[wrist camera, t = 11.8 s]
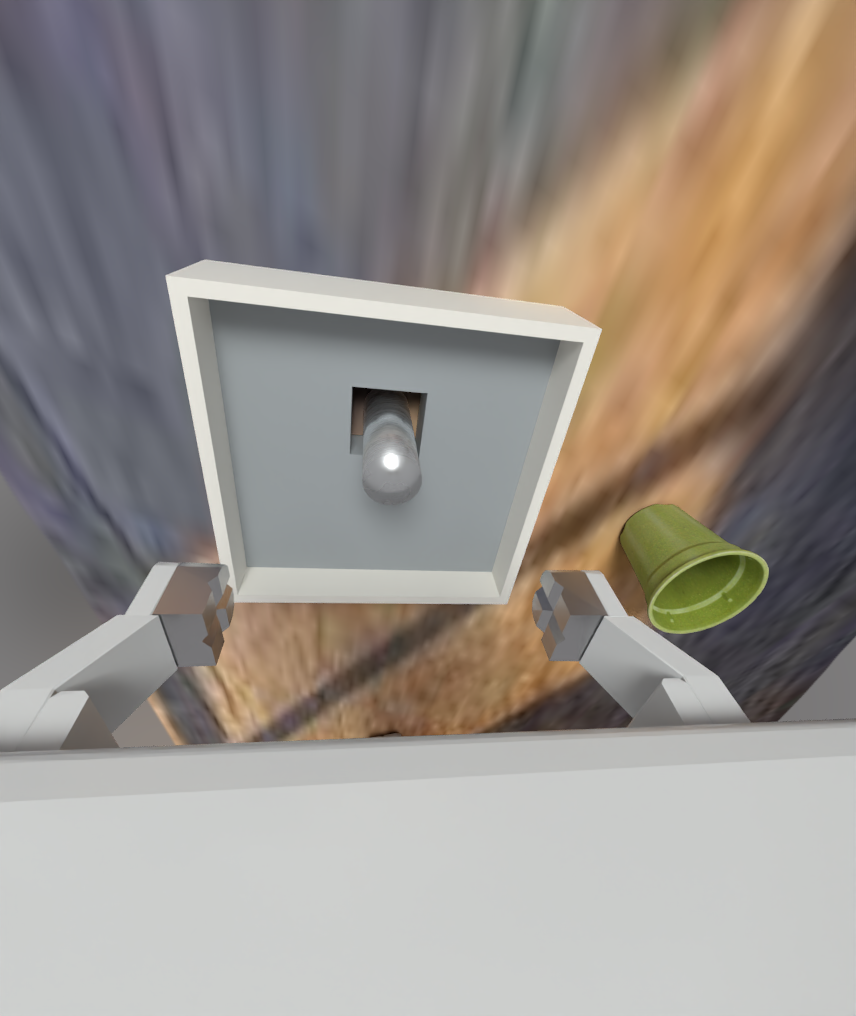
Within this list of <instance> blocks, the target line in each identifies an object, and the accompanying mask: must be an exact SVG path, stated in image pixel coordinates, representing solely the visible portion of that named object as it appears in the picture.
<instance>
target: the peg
mask: <svg viewBox="0 0 856 1016" xmlns="http://www.w3.org/2000/svg"><path fill="white" fill-rule="evenodd" d="M362 484H363V488H364V490H365V492H366V493H367V495H368V496H369V497H370V498H371V499H373V500H374V501H376V502H378V503H381V504H384V505H399V504H403V503H405V502H407V501H409V500H411V499H412V498H413V497H414V496H415V495H416V494H417V493H418V491H419V490H420V487H421V484H422V474H421V469H420V464H419V458H418V453H417V448H416V442H415V437H414V432H413V426H412V421H411V416H410V410H409V405H408V400H407V398H406V396H405V395H404V393H403V392H402V391H396V390H384V389H373V390H372V391H370V392H369V394H368V395H367V397H366V399H365V402H364V426H363V469H362Z"/></svg>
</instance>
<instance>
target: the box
mask: <svg viewBox="0 0 856 1016" xmlns="http://www.w3.org/2000/svg"><path fill="white" fill-rule="evenodd" d="M166 281H167V286H168V291H169V296H170V302H171V307H172V312H173V317H174V323H175V328H176V333H177V339H178V344H179V349H180V354H181V360H182V365H183V370H184V375H185V381H186V386H187V391H188V396H189V402H190V407H191V412H192V417H193V423H194V428H195V433H196V438H197V444H198V449H199V454H200V460H201V465H202V470H203V475H204V481H205V486H206V491H207V496H208V502H209V507H210V512H211V517H212V523H213V528H214V533H215V538H216V544H217V549H218V554H219V560H220V564H225V565H227V566H228V569H229V573H230V577H229V580H228V583H227V584H228V585H229V586H230V587H231V588H233V593H234V602H263V603H400V604H507V603H508V600H509V597H510V594H511V591H512V588H513V585H514V583H515V580H516V577H517V574H518V571H519V568H520V565H521V562H522V559H523V557H524V554H525V551H526V548H527V545H528V542H529V539H530V536H531V533H532V531H533V528H534V525H535V522H536V519H537V516H538V513H539V510H540V507H541V504H542V502H543V499H544V496H545V493H546V490H547V487H548V484H549V481H550V478H551V476H552V473H553V470H554V467H555V464H556V461H557V458H558V455H559V452H560V450H561V447H562V444H563V441H564V438H565V435H566V432H567V429H568V426H569V424H570V421H571V418H572V415H573V412H574V409H575V406H576V403H577V400H578V398H579V395H580V392H581V389H582V386H583V383H584V380H585V377H586V374H587V372H588V369H589V366H590V363H591V360H592V357H593V354H594V351H595V348H596V345H597V343H598V340H599V337H600V334H601V331H602V329H601V328H599V327H598V326H596V325H594V324H592V323H591V322H589V321H587V320H586V319H584V318H582V317H580V316H579V315H577V314H575V313H573V312H572V311H570V310H568V309H567V308H565V307H563V306H557V305H549V304H542V303H534V302H526V301H519V300H511V299H503V298H496V297H488V296H480V295H473V294H465V293H457V292H450V291H442V290H434V289H427V288H419V287H411V286H404V285H396V284H388V283H381V282H373V281H365V280H358V279H350V278H342V277H335V276H327V275H319V274H312V273H304V272H296V271H289V270H281V269H273V268H266V267H258V266H250V265H243V264H235V263H227V262H220V261H212V260H203V261H200V262H198V263H195V264H193V265H190V266H188V267H185V268H183V269H180V270H178V271H175V272H173V273H170V274H168V275H166ZM353 387H362V388H373V389H384V390H396V391H407V392H418V393H421V397H420V405H419V413H418V421H417V428H416V436H415V442H416V448H417V453H418V458H419V464H420V469H421V474H422V484H421V487H420V490H419V491H418V493H417V494H416V495H415V496H414V497H413V498H412V499H411V500H409V501H407V502H405V503H403V504H399V505H384V504H381V503H378V502H376V501H374V500H373V499H371V498H370V497H369V496H368V495H367V493H366V492H365V490H364V488H363V484H362V469H363V436H361V435H351V426H352V397H353Z"/></svg>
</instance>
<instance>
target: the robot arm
mask: <svg viewBox="0 0 856 1016" xmlns="http://www.w3.org/2000/svg"><path fill="white" fill-rule="evenodd" d="M229 577H230V573H229V569H228V566H227V565H225V564H206V563H172V562H158V563H157V564H156V565H154V566H153V568H152V569H151V571H150V573H149V574H148V576H147V578H146V580H145V581H144V583H143V585H142V586H141V588H140V590H139V591H138V593H137V595H136V596H135V598H134V600H133V601H132V603H131V605H130V607H129V608H128V610H127V612H126V613H125V615H117V616H115V617H114V618H112V619H111V620H109V621H107V622H106V623H104V624H103V625H101V626H100V627H98V628H97V629H95V630H94V631H92V632H90V633H89V634H87V635H86V636H84V637H83V638H81V639H79V640H78V641H76V642H75V643H73V644H72V645H70V646H68V647H67V648H65V649H64V650H62V651H61V652H59V653H58V654H56V655H54V656H53V657H51V658H50V659H48V660H47V661H45V662H44V663H42V664H40V665H39V666H37V667H36V668H34V669H33V670H31V671H30V672H28V673H26V674H25V675H23V676H22V677H20V678H19V679H17V680H15V681H14V682H12V683H11V684H9V685H8V686H6V687H5V688H3V689H2V690H0V1016H856V719H833V720H812V721H811V720H808V721H783V722H758V723H751V722H750V721H749V719H748V718H747V717H746V715H745V714H744V712H743V711H742V709H741V708H740V707H739V705H738V704H737V702H736V701H735V699H734V698H733V697H732V695H731V694H730V692H729V691H728V690H727V688H726V687H725V685H724V684H723V682H722V681H721V680H720V678H719V677H718V676H717V675H716V674H714V673H713V672H711V671H710V670H709V669H707V668H706V667H704V666H703V665H702V664H700V663H699V662H697V661H696V660H694V659H693V658H692V657H690V656H689V655H687V654H686V653H685V652H683V651H682V650H680V649H679V648H677V647H676V646H675V645H673V644H672V643H670V642H669V641H668V640H666V639H665V638H663V637H662V636H660V635H659V634H658V633H656V632H655V631H653V630H652V629H651V628H649V627H648V626H646V625H645V624H643V623H642V622H641V621H639V620H638V619H636V618H635V617H634V616H628V615H627V613H626V612H625V610H624V608H623V607H622V605H621V603H620V602H619V600H618V598H617V597H616V595H615V593H614V592H613V590H612V588H611V587H610V585H609V583H608V582H607V580H606V578H605V577H604V575H603V574H602V573H601V572H600V571H591V570H581V571H577V570H546V571H545V572H544V573H543V574H542V576H541V579H540V582H541V584H542V587H541V588H540V589H539V590H537V591H536V592H535V595H534V598H533V604H532V612H533V618H534V621H535V624H536V626H537V627H538V628H539V629H541V630H542V631H543V632H544V634H543V637H542V639H541V640H542V643H543V645H544V648H545V651H546V653H547V656H548V659H549V661H580V662H579V663H580V664H581V665H582V666H583V667H584V668H585V669H586V670H587V671H588V672H589V673H590V674H591V675H592V676H593V677H594V679H595V680H596V681H597V682H598V683H599V684H600V685H601V686H602V687H603V688H604V689H605V690H606V691H607V692H608V693H609V694H610V695H611V696H612V697H613V698H614V699H615V700H616V701H617V702H618V703H619V704H620V705H621V706H622V707H623V708H624V709H625V710H626V711H627V713H628V714H629V715H630V716H631V717H632V718H633V720H632V721H631V722H630V724H629V725H628V726H627V728H605V729H579V730H554V731H529V732H504V733H479V734H454V735H429V736H403V737H378V738H353V739H328V740H302V741H277V742H251V743H226V744H200V745H174V746H151V747H150V746H149V747H124V748H119V746H118V744H117V743H116V741H115V739H114V738H113V736H112V734H111V733H112V732H113V731H114V730H116V729H117V728H118V726H119V725H121V724H122V723H123V722H124V721H125V720H126V719H127V718H128V717H129V716H130V715H131V714H132V713H133V712H134V711H135V710H136V709H137V708H138V707H139V706H140V705H141V704H142V703H143V702H144V701H145V700H146V699H147V698H148V697H149V696H150V695H151V694H152V693H153V692H155V691H156V690H157V689H158V688H159V687H160V686H161V685H162V684H163V683H164V682H165V681H166V680H167V679H168V678H169V677H170V676H171V675H172V674H173V673H174V672H175V671H176V670H177V667H188V666H213V665H217V662H218V659H219V656H220V653H221V650H222V647H223V644H224V638H223V634H222V632H223V631H224V630H225V629H227V628H228V627H229V626H230V623H231V620H232V616H233V610H234V593H233V588H231V587H230V586H229V585H228V584H227V583H228V580H229Z"/></svg>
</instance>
